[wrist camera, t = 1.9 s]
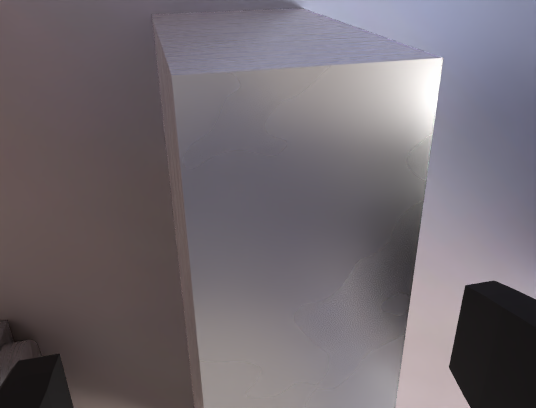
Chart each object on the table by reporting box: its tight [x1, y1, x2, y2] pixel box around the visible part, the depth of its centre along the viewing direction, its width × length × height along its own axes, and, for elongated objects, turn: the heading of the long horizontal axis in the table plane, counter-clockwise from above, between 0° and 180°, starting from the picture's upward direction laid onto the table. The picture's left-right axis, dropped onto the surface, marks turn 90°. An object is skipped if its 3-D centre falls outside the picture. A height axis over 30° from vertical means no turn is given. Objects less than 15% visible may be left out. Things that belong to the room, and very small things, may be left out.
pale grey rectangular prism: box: [151, 8, 443, 408], centre depth 10 cm, size 3×11×6 cm, turn 0°
